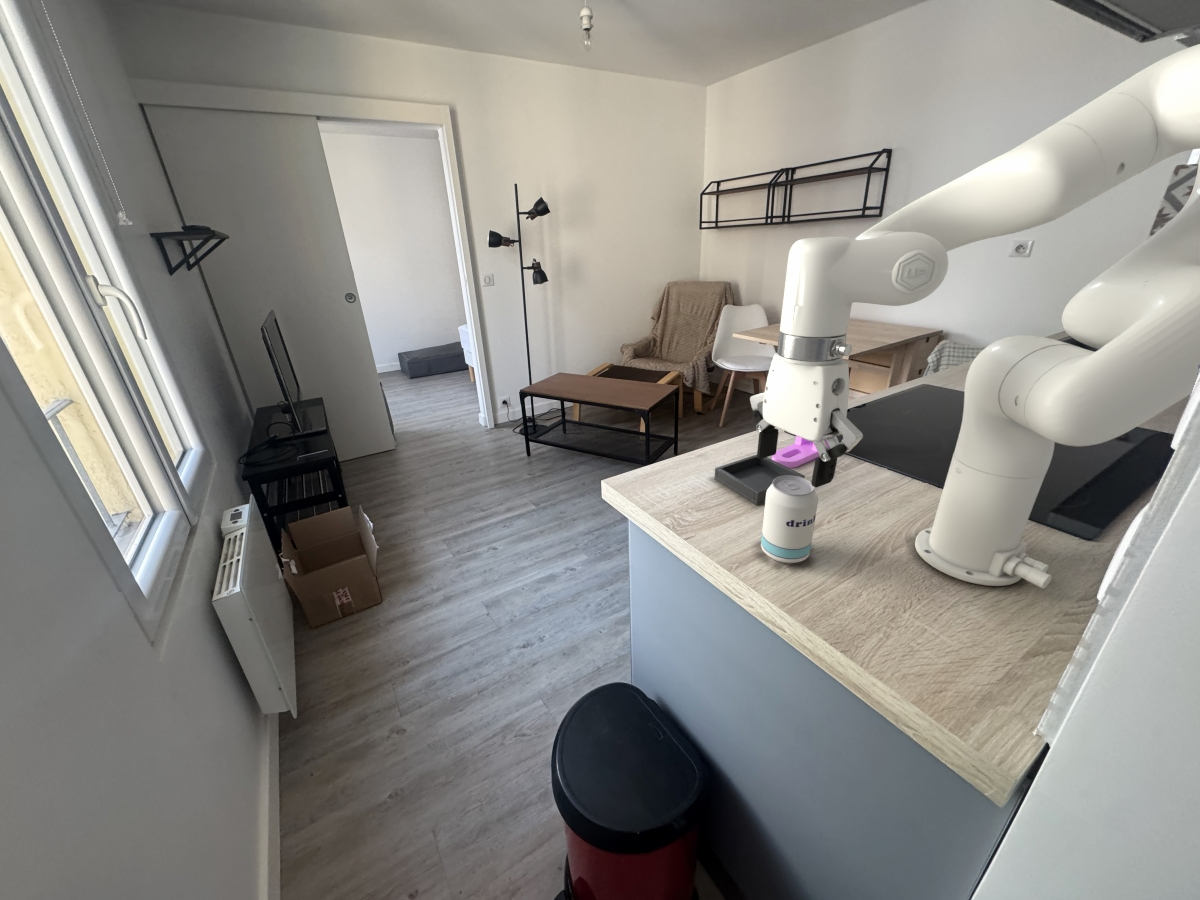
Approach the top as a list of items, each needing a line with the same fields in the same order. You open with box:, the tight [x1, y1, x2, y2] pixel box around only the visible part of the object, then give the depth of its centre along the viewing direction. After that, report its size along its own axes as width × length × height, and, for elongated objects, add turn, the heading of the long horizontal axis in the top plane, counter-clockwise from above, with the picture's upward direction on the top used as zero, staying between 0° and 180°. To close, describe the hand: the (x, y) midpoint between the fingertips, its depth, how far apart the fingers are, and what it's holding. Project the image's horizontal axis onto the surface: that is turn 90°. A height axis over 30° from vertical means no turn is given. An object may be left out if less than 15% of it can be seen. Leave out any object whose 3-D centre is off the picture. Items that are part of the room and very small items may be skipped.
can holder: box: [714, 454, 806, 506], centre depth 90 cm, size 12×12×3 cm
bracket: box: [771, 435, 830, 469], centre depth 98 cm, size 13×6×7 cm, turn 122°
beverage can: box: [760, 475, 819, 564], centre depth 68 cm, size 7×7×12 cm
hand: (792, 469), depth 65 cm, fingers open, 9 cm apart
